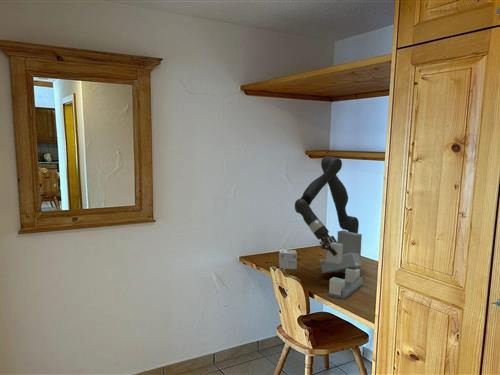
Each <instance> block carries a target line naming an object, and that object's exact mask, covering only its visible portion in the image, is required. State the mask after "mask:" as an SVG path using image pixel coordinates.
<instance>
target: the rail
mask: <svg viewBox="0 0 500 375" xmlns="http://www.w3.org/2000/svg"><path fill="white" fill-rule="evenodd" d="M363 278H364V277H363V276H360V277H359V278H358V279H357V280H356V281H354V282H353V283H349V282H345V289H343V290H342V295H341V296H340V295H336V294H333V293H329V291H328V292H327V296H330V297H334V298H338V299H341V300H345V299H347V298H348V297H349V296H351V295H352V294H353V293H354V292H356V291H357V290H358V289H359V288H360V287H362V286H363V282H364V281H363V280H364V279H363Z"/></svg>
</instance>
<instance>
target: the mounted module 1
mask: <svg viewBox="0 0 500 375" xmlns="http://www.w3.org/2000/svg"><path fill="white" fill-rule="evenodd" d="M343 289H345V278H339V277H335V276H333V277H332V278H330V279H329V288H328V290H329V291H328V292H329V293H333V294H336V295H340V296H341V295H342V290H343Z"/></svg>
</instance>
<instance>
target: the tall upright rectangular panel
mask: <svg viewBox="0 0 500 375" xmlns="http://www.w3.org/2000/svg"><path fill="white" fill-rule="evenodd" d="M362 235H363V234H361V233H359V232H358V233H353V232H348V231H347V230H343V229H341V230H338V231H337V238H336V241H337V243H341V244H343V254H342V255H344V254H348V253H359V256H360V259H361V256H362V253H361V252H362ZM353 268H355V269H360V270H361V266H358V267H353ZM345 271H346V269H345V270H341V271H338V272H340V273H343V274H345ZM360 275H361V271H360Z"/></svg>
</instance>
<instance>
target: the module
mask: <svg viewBox="0 0 500 375" xmlns="http://www.w3.org/2000/svg"><path fill="white" fill-rule="evenodd" d="M331 246H332V249H334V250H335V252H336V253H337V255H335V256H333V254H332V253H331V252H330V251H329V250H326V258H325V259H326V262H331V263H336V264H339V263H341V262H342V254H343V244H341V243H335V242H332V243H331Z"/></svg>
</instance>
